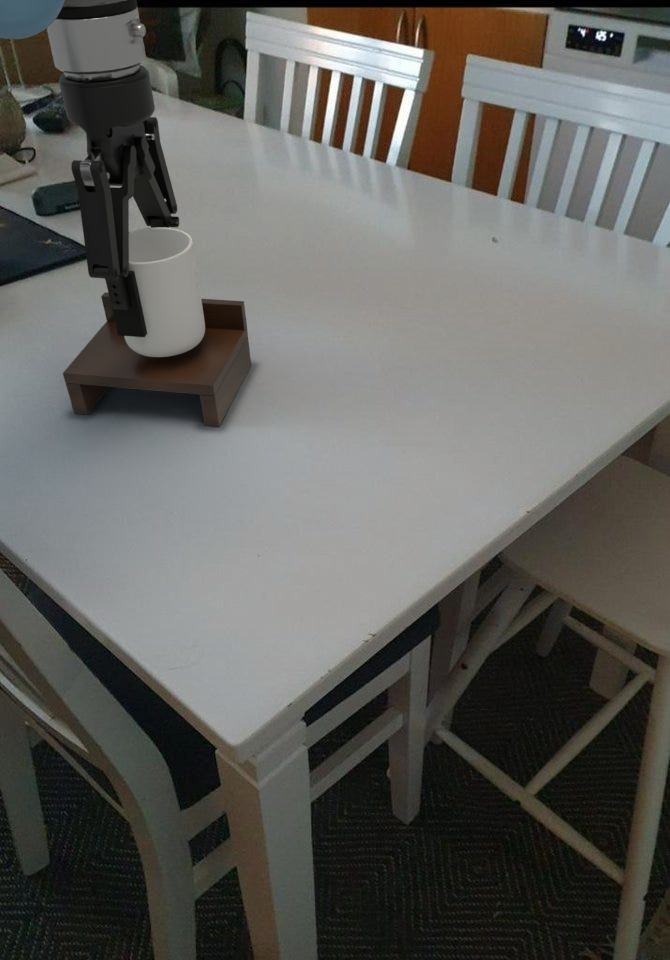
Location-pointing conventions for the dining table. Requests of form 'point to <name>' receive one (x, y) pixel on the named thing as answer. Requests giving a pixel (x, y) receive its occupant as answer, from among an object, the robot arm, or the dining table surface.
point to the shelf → (167, 363)
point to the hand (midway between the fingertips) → (150, 311)
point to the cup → (166, 291)
